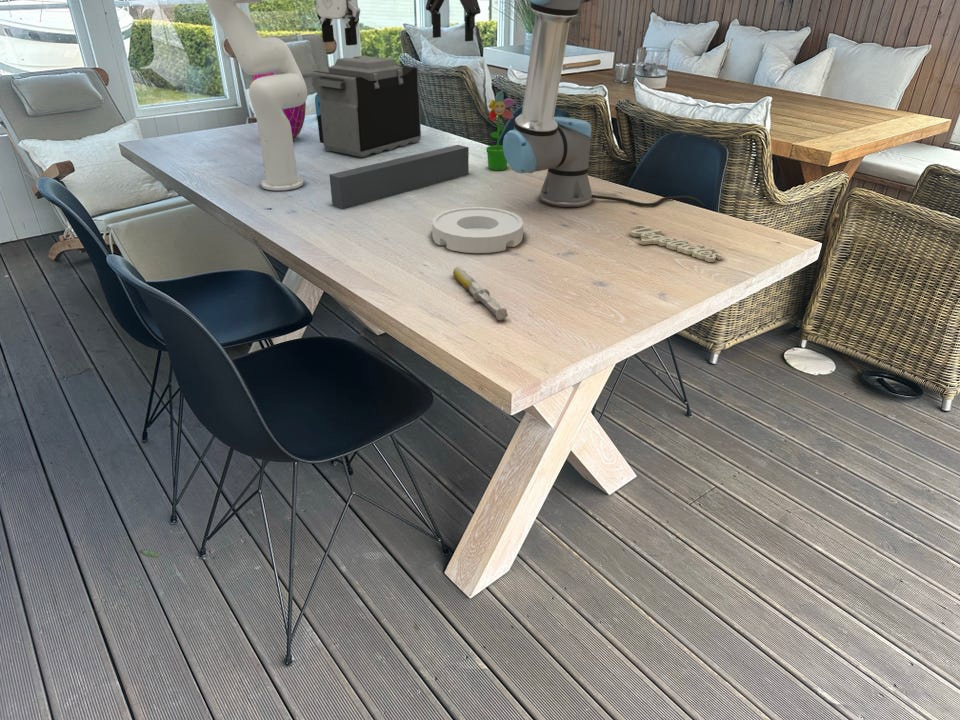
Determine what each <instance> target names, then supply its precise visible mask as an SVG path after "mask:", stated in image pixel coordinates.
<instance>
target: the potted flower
mask: <svg viewBox="0 0 960 720" xmlns="http://www.w3.org/2000/svg"><path fill="white" fill-rule="evenodd" d="M504 97H505V94H504V91H503V90H500V91H499V92H498V93H496V95H495V98H494V99H491V100H490V101H489V104H488V108H489V109H490V111H489V113H488V116H489V120H490V121H491V122H493V121H495V120H496V118H497V131H494V132H492V133H490V136H491V138H493V139H496V145H495V144H494V145H488V146H486V153H487V155H486V156H487V166H488V169H490V170H492V171H503V170H506V169H507V168H508V163H507V160H506V159H505V156H504V152H503V145H501V144H500V132H502V131H504V129H505V126H503V125H500V123H501V122H500V121H501V119H500V118H501V117H502V118H503V119H505V120H511V119H514V118H515V117H514V115H513V113H512V112H511V111H510V110H509V109H508V108H510V107H512V106H514V105H516V104H517V102H516V101H515V100H514V99H513V98H505V99H504Z"/></svg>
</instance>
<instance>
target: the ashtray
mask: <svg viewBox="0 0 960 720" xmlns="http://www.w3.org/2000/svg"><path fill="white" fill-rule="evenodd" d="M431 227H432V228H431V229H432V231H431V232H432V233H431V235H432V241H434V242H435V244H436V245H438V246H445V247H446V249H447V250H450V251H452V252H453V251H454V252H460V253H468V254H490V253H499V252H503V251H506V249H507V248H514V247H517V246H518V245H519V244H520V243H522V241H523V238H524V235H523V234H524V221H523V219H522V217H520V215H518V214H516V213H514V212H512V211H509V210H505V209H501V208H494V207H486V206H467V207H458V208H451V209H448V210H445V211H441V212H439V213H438V214H436V215H435V216H434V217H433V218H432V220H431Z"/></svg>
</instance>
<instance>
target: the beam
mask: <svg viewBox="0 0 960 720" xmlns="http://www.w3.org/2000/svg"><path fill="white" fill-rule="evenodd" d="M469 154H470V153H469V146H465V145H461V144H454V145H450V146H446V147H442V148H437V149H433V150H429V151H423V152H420V153H416V154H412V155H407V156H402V157H399V158H395V159H390V160H386V161H381V162H378V163H373V164H369V165H365V166H360V167H356V168H352V169H351V168H350V169H347V170H342V171H338V172H334V173H330V174H329V185H330V194H331V195H330V196H331V204H332V206H334V207H337V208H340V209H347V208H350V207H353V206H358V205H361V204H365V203H368V202H372V201H376V200H379V199H383V198H386V197H391V196H395V195H398V194H400V193H401V194H402V193H405V192H408V191H412V190H416V189H420V188H425V187H427V186H430V185H431V186H432V185H434V184H438V183H442V182H445V181H449V180H452V179H456V178H459V177H463V176H467V175H469V160H470V159H469Z"/></svg>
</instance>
